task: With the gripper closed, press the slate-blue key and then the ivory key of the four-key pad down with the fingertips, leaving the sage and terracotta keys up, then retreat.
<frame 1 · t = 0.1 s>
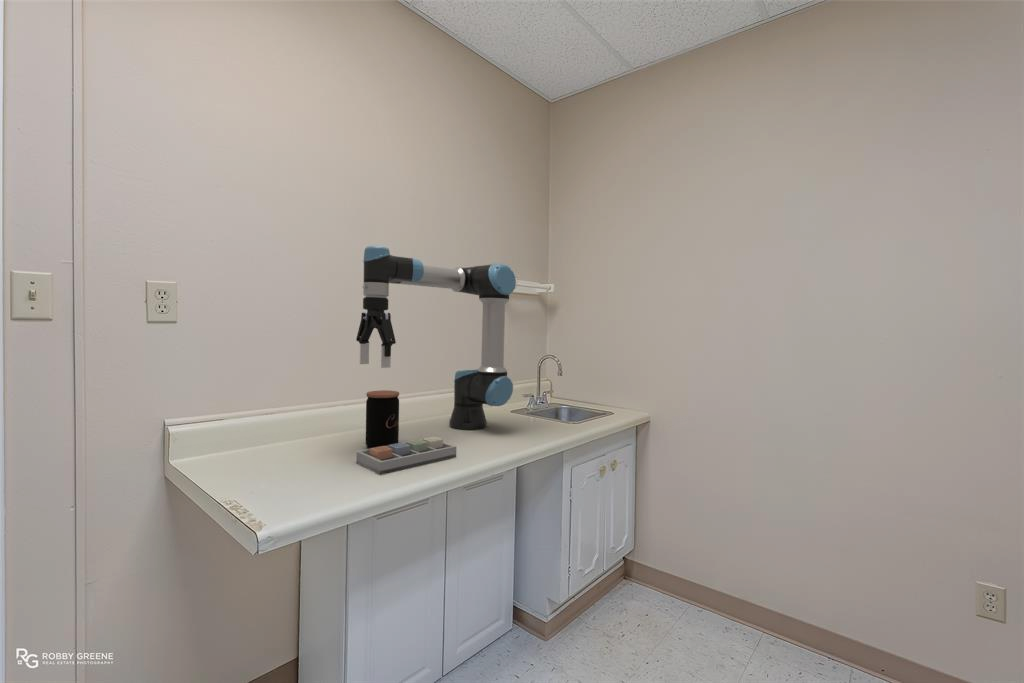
hand: (374, 365, 142), 28 cm above the counter, fingers open, 13 cm apart
coffee jar: (382, 446, 154), on the counter
key slate: (399, 449, 136), point 4 cm above the counter, slide at 0.0 cm
key sage: (416, 445, 141), point 4 cm above the counter, slide at 0.0 cm
key ivory: (432, 442, 145), point 4 cm above the counter, slide at 0.0 cm
key terracotta: (380, 452, 132), point 4 cm above the counter, slide at 0.0 cm
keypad: (407, 459, 139), on the counter
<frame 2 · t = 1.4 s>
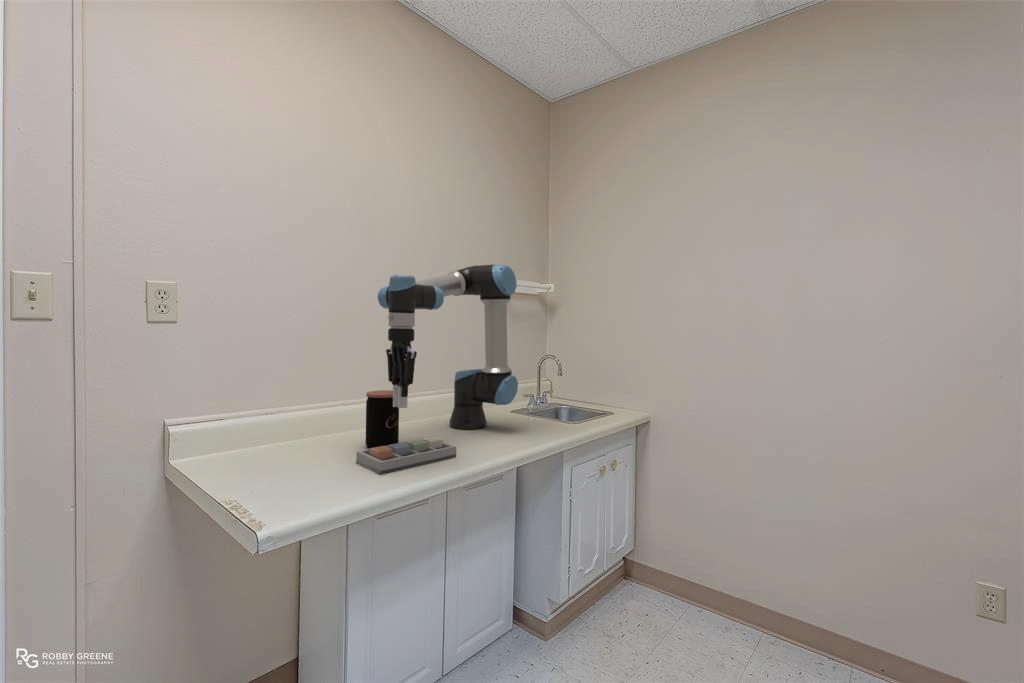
hand: (400, 406, 136), 16 cm above the counter, fingers open, 2 cm apart
nothing on the counter moved.
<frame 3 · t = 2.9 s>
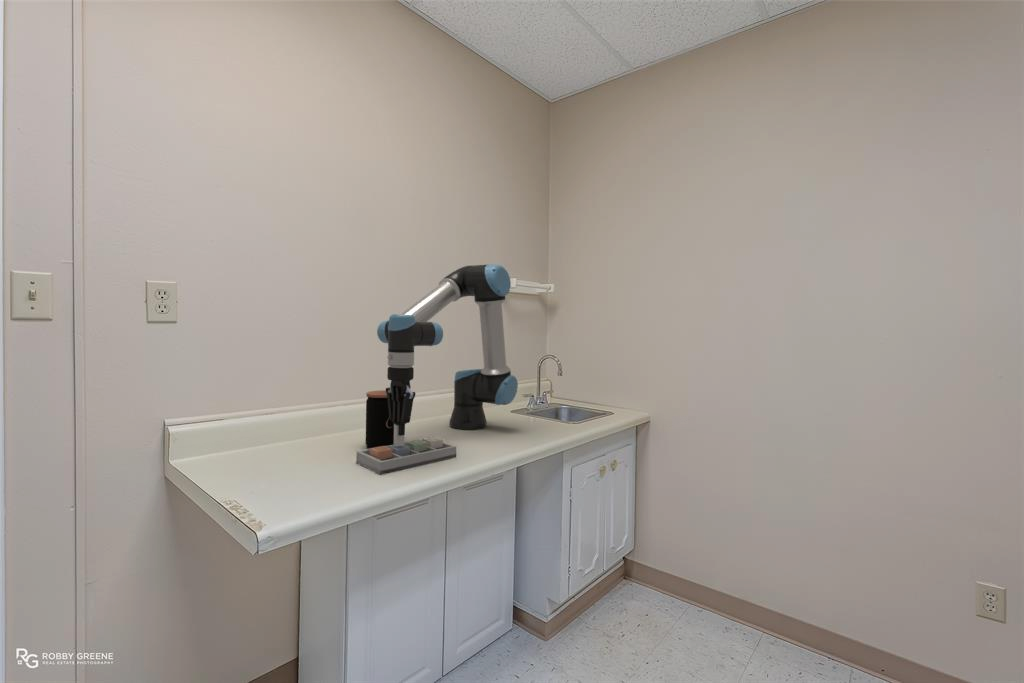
hand: (398, 445, 136), 5 cm above the counter, fingers closed
key slate: (399, 450, 136), point 3 cm above the counter, slide at 0.5 cm, touching gripper
everything else where it was.
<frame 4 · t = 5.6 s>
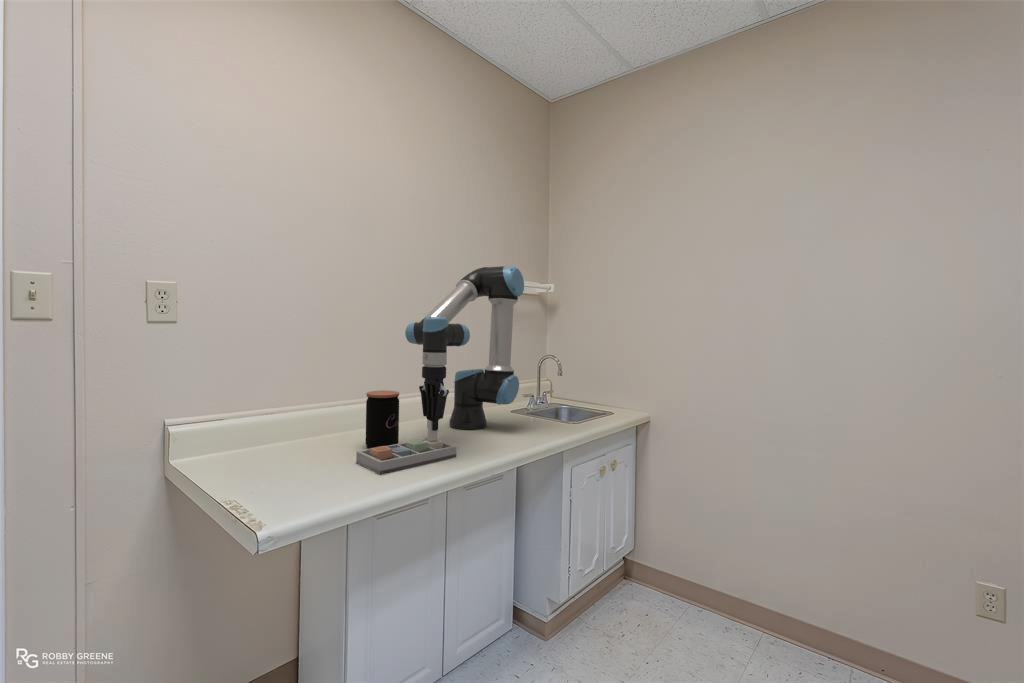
hand: (432, 440, 145), 5 cm above the counter, fingers closed
key slate: (399, 453, 136), point 3 cm above the counter, slide at 1.3 cm
key ivory: (432, 444, 145), point 3 cm above the counter, slide at 0.8 cm, touching gripper
everything else where it was.
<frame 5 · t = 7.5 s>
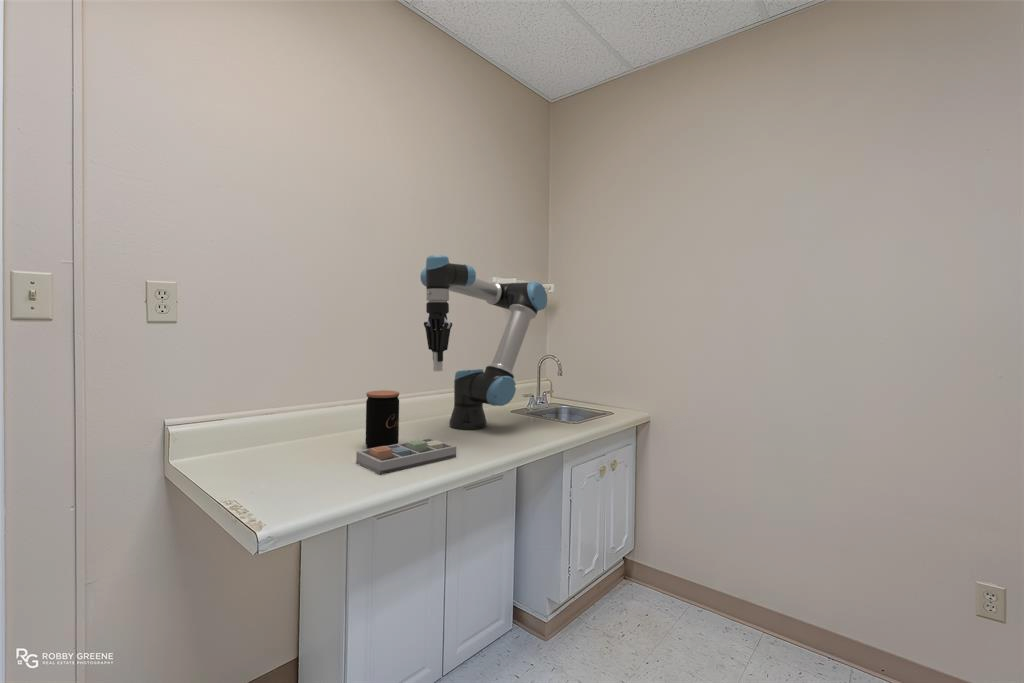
hand: (437, 370, 157), 25 cm above the counter, fingers closed
key ivory: (432, 446, 145), point 3 cm above the counter, slide at 1.3 cm
everything else where it was.
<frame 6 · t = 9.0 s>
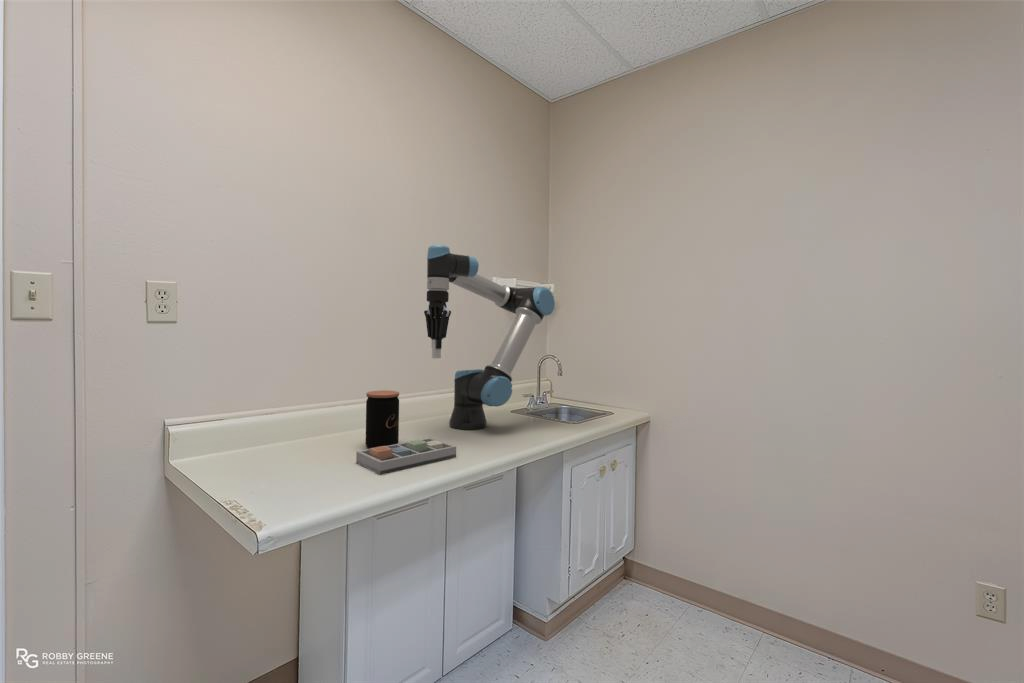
hand: (436, 358, 160), 29 cm above the counter, fingers closed
nothing on the counter moved.
at the end: key slate slide at 1.3 cm; key ivory slide at 1.3 cm; key sage slide at 0.0 cm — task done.
